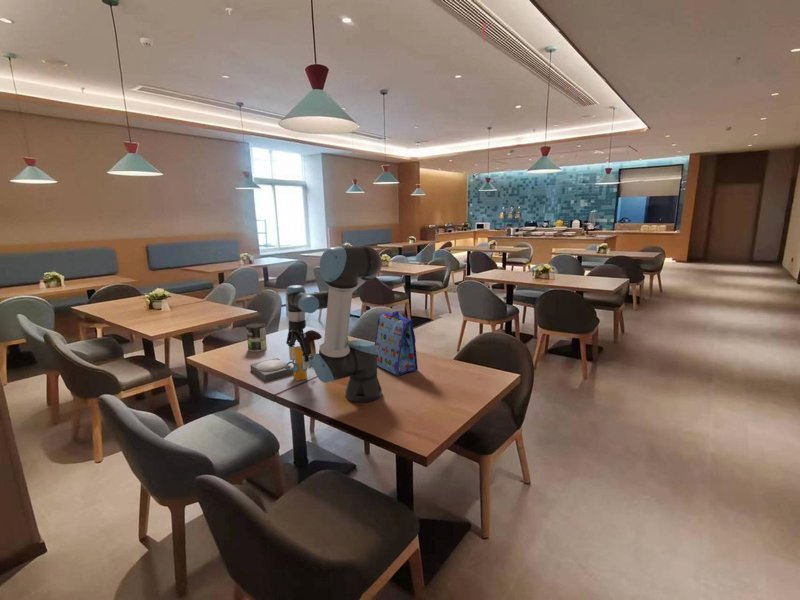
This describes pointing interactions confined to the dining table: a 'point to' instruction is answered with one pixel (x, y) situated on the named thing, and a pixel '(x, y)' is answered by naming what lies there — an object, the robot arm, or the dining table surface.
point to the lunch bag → (395, 344)
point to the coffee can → (256, 337)
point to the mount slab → (271, 369)
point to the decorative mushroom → (311, 337)
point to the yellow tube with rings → (298, 364)
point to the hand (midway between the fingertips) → (299, 363)
